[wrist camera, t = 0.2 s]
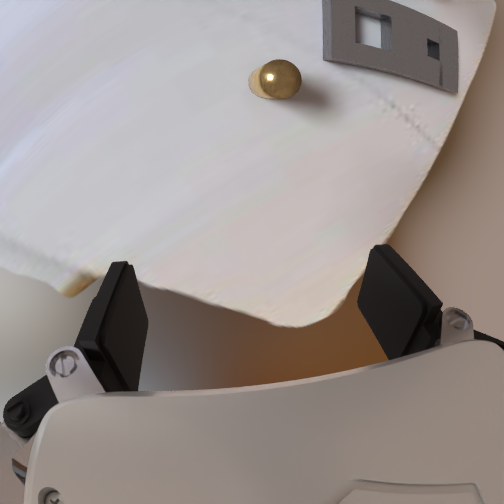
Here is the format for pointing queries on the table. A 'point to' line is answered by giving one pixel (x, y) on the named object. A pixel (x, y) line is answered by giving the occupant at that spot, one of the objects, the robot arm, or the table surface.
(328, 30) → the block
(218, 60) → the table surface
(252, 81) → the cylinder
